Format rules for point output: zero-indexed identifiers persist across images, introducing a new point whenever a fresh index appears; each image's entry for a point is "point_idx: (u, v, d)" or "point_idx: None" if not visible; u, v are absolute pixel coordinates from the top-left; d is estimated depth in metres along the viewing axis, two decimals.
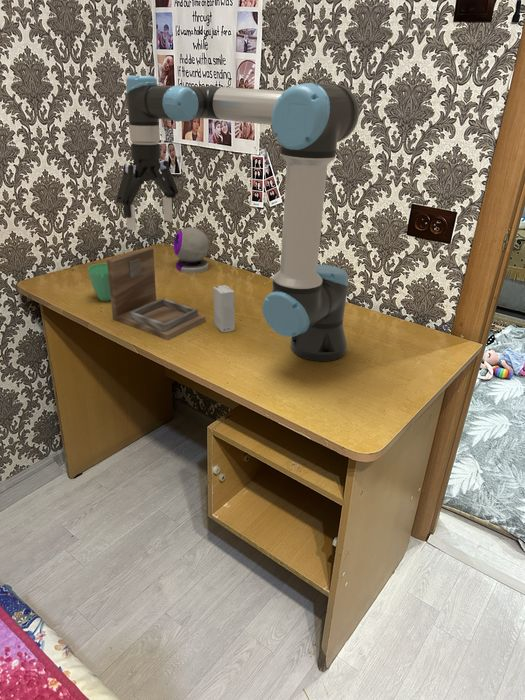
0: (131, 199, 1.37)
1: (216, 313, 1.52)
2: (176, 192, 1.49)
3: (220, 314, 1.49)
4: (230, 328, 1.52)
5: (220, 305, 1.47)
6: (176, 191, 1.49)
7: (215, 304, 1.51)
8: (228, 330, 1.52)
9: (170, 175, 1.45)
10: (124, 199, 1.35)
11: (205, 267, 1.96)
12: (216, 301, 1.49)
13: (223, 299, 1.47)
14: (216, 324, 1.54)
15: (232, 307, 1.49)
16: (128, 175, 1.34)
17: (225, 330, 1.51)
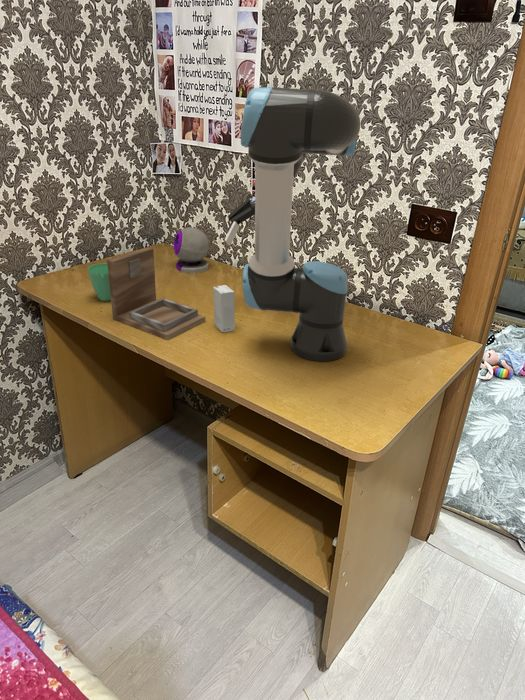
0: (236, 217, 1.56)
1: (215, 313, 1.52)
2: None
3: (220, 314, 1.49)
4: (230, 328, 1.52)
5: (220, 305, 1.47)
6: None
7: (215, 304, 1.51)
8: (228, 330, 1.52)
9: None
10: (230, 214, 1.57)
11: (205, 267, 1.96)
12: (216, 301, 1.49)
13: (223, 299, 1.47)
14: (216, 324, 1.54)
15: (232, 307, 1.49)
16: None
17: (225, 330, 1.51)
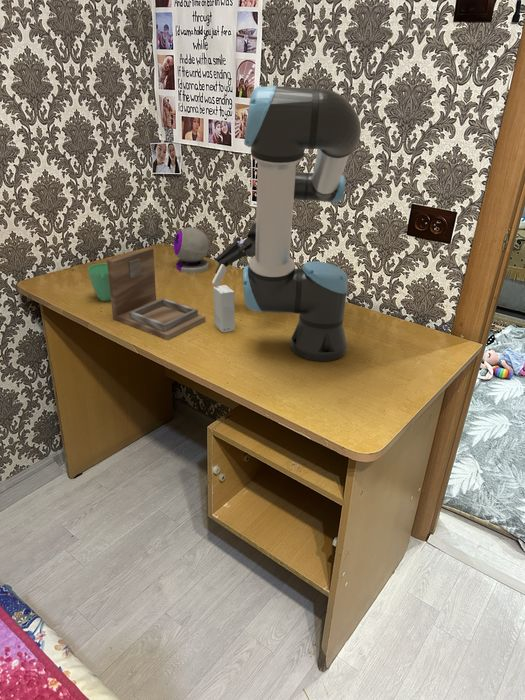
0: (224, 259, 1.58)
1: (216, 313, 1.52)
2: None
3: (220, 314, 1.49)
4: (230, 328, 1.52)
5: (220, 305, 1.47)
6: None
7: (215, 304, 1.51)
8: (228, 330, 1.52)
9: None
10: (218, 257, 1.59)
11: (205, 267, 1.96)
12: (216, 301, 1.49)
13: (223, 299, 1.47)
14: (216, 324, 1.54)
15: (232, 307, 1.49)
16: None
17: (225, 330, 1.51)
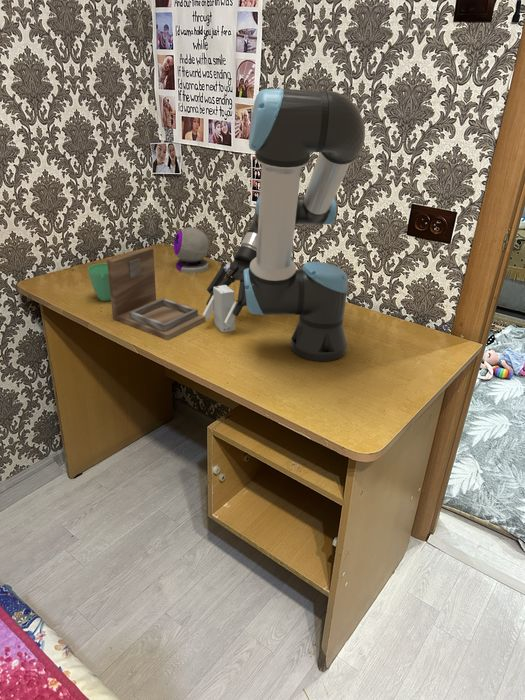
0: None
1: (216, 313, 1.52)
2: (244, 300, 1.47)
3: (220, 314, 1.49)
4: (230, 328, 1.52)
5: (220, 305, 1.47)
6: (245, 299, 1.47)
7: (215, 304, 1.51)
8: (228, 330, 1.52)
9: None
10: (209, 287, 1.54)
11: (205, 267, 1.96)
12: (216, 301, 1.49)
13: (223, 299, 1.47)
14: (216, 324, 1.54)
15: None
16: None
17: (225, 330, 1.51)
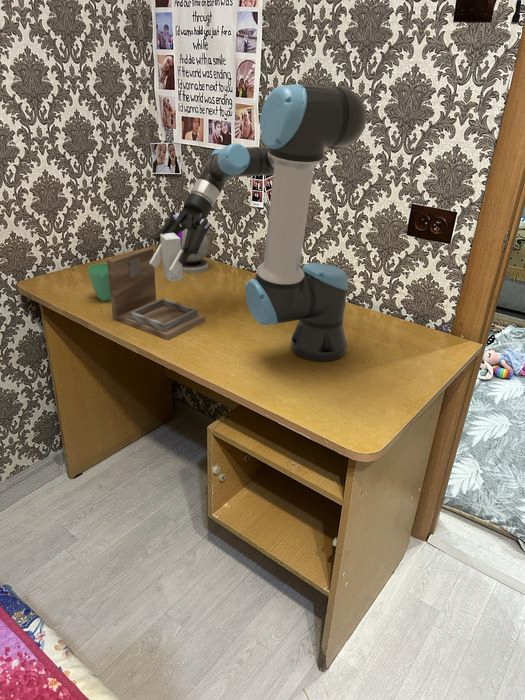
0: None
1: (163, 262, 1.49)
2: (190, 248, 1.44)
3: (167, 262, 1.46)
4: (178, 277, 1.48)
5: (166, 252, 1.44)
6: (191, 247, 1.44)
7: (162, 252, 1.48)
8: (176, 279, 1.48)
9: (198, 231, 1.45)
10: (157, 236, 1.50)
11: (205, 267, 1.96)
12: (163, 249, 1.46)
13: (169, 246, 1.43)
14: (164, 273, 1.51)
15: None
16: None
17: (172, 279, 1.48)
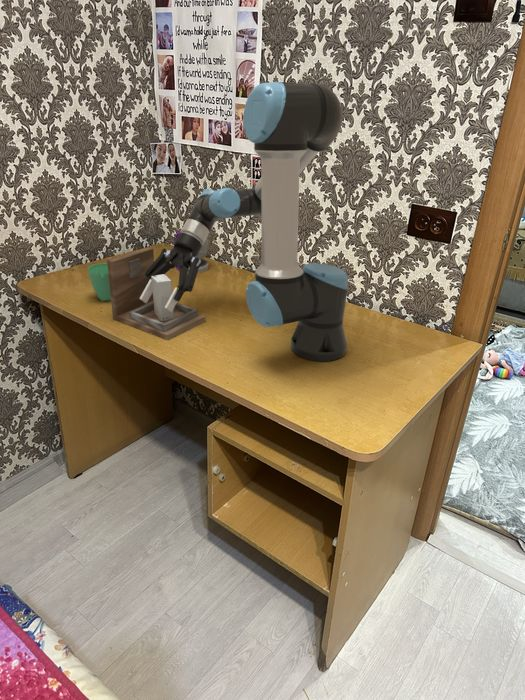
0: (152, 274, 1.54)
1: (155, 302, 1.53)
2: (185, 286, 1.48)
3: (158, 303, 1.50)
4: (169, 317, 1.53)
5: (157, 294, 1.49)
6: (186, 285, 1.48)
7: (154, 293, 1.52)
8: (167, 319, 1.53)
9: (191, 269, 1.49)
10: (147, 272, 1.55)
11: (205, 267, 1.96)
12: (154, 290, 1.51)
13: (160, 288, 1.48)
14: (156, 313, 1.55)
15: (169, 296, 1.50)
16: None
17: (164, 319, 1.52)
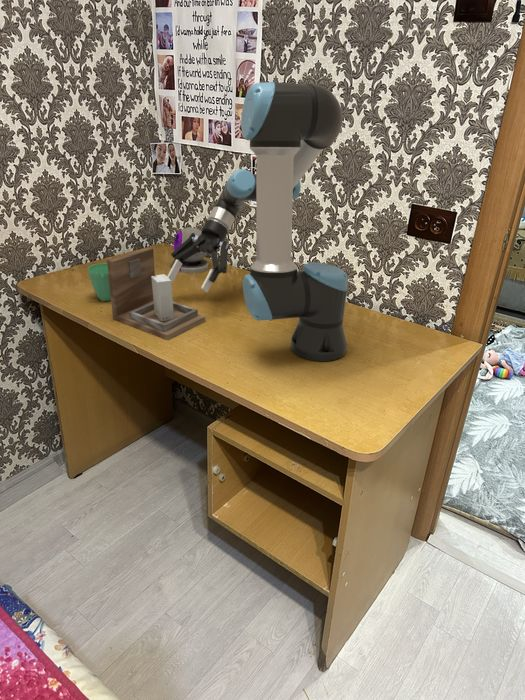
0: (179, 255, 1.63)
1: (155, 302, 1.53)
2: (220, 267, 1.55)
3: (158, 303, 1.50)
4: (169, 317, 1.53)
5: (157, 294, 1.49)
6: (220, 267, 1.55)
7: (154, 293, 1.52)
8: (167, 319, 1.53)
9: (222, 252, 1.57)
10: (173, 252, 1.65)
11: (205, 267, 1.96)
12: (154, 290, 1.51)
13: (160, 288, 1.48)
14: (156, 313, 1.55)
15: (169, 296, 1.50)
16: None
17: (164, 319, 1.52)
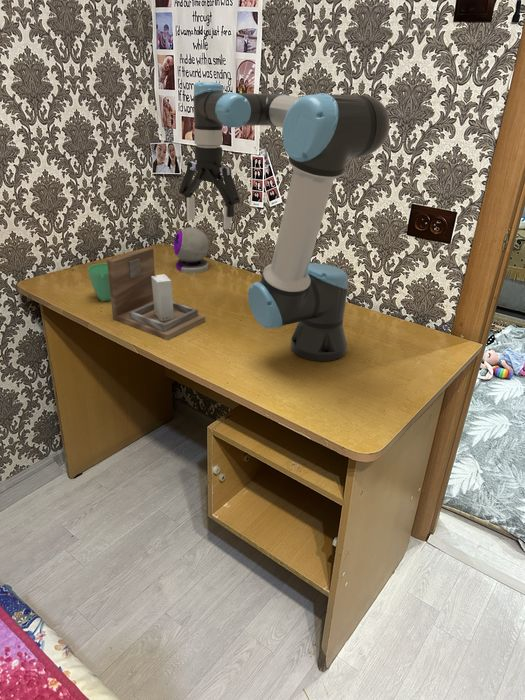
0: (186, 192, 1.52)
1: (155, 302, 1.53)
2: (232, 202, 1.44)
3: (158, 303, 1.50)
4: (169, 317, 1.53)
5: (157, 294, 1.49)
6: (232, 201, 1.44)
7: (154, 293, 1.52)
8: (167, 319, 1.53)
9: (226, 183, 1.43)
10: (180, 190, 1.53)
11: (205, 267, 1.96)
12: (154, 290, 1.51)
13: (160, 288, 1.48)
14: (156, 313, 1.55)
15: (169, 296, 1.50)
16: None
17: (164, 319, 1.52)
